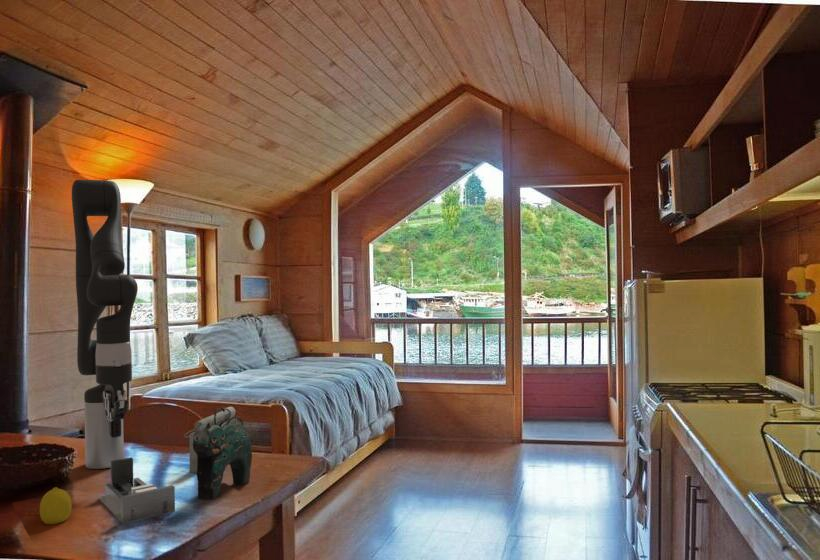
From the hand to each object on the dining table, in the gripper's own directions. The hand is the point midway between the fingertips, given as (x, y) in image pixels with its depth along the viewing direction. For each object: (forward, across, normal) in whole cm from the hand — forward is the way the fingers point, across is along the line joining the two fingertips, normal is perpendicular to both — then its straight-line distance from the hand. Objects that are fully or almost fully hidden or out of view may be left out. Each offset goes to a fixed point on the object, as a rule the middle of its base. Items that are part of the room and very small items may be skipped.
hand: (115, 436), depth 147 cm
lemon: (+12, +15, -15) cm, 25 cm away
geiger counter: (+14, -6, +27) cm, 30 cm away
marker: (+11, +23, 0) cm, 25 cm away
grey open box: (+12, +16, 0) cm, 20 cm away
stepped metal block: (+11, +10, 0) cm, 15 cm away
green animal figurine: (+13, +18, +18) cm, 29 cm away
